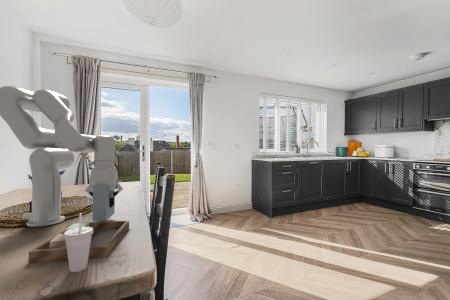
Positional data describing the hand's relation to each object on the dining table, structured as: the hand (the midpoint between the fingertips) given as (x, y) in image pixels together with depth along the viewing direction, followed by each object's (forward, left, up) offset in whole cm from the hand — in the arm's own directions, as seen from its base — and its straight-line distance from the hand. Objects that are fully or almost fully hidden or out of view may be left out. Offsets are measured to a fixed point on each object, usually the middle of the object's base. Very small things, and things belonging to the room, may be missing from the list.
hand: (104, 206), depth 92 cm
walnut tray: (+3, -21, -7) cm, 22 cm away
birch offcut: (-2, -25, -7) cm, 27 cm away
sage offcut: (-2, -17, -7) cm, 19 cm away
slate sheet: (0, 0, -4) cm, 4 cm away
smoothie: (+7, -38, -7) cm, 39 cm away
